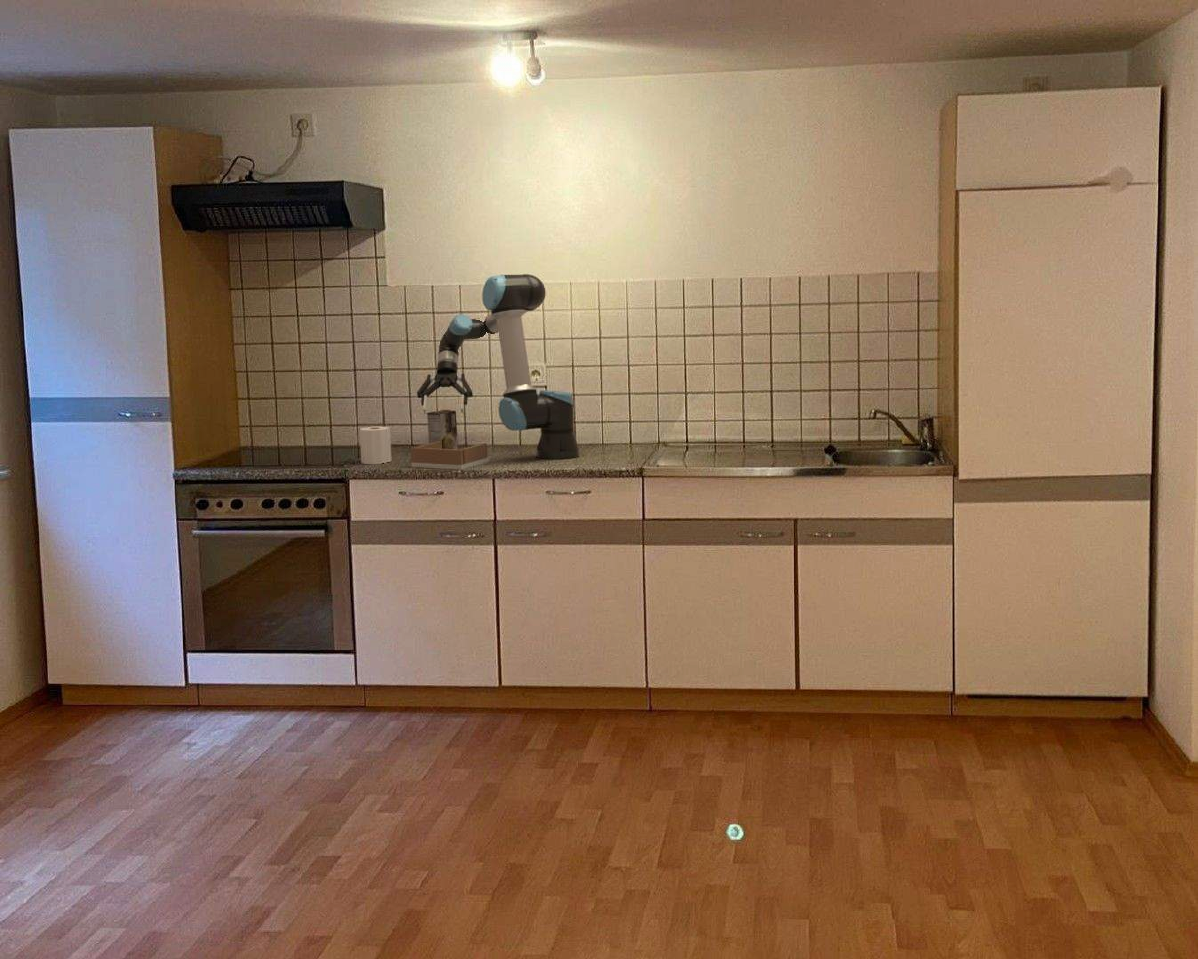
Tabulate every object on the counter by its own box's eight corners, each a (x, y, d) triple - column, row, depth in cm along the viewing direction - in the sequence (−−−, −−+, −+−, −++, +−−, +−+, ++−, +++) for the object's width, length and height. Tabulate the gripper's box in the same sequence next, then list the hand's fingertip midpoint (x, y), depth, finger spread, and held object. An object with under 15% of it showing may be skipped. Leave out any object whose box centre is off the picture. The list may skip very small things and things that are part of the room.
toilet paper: (397, 461, 514) (395, 427, 512) (372, 465, 507) (370, 430, 505) (380, 459, 521) (378, 425, 519) (355, 462, 514) (354, 428, 512)
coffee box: (445, 453, 530) (443, 409, 528) (458, 454, 527) (456, 410, 524) (428, 457, 523) (426, 412, 520) (442, 458, 519) (440, 413, 517)
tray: (488, 461, 508) (488, 443, 507) (461, 469, 493) (460, 450, 492) (440, 459, 517) (439, 440, 516) (411, 466, 501) (410, 448, 500)
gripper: (482, 371, 545) (478, 416, 533) (415, 373, 546) (410, 418, 534) (479, 358, 539) (476, 404, 527) (412, 360, 540) (407, 405, 528)
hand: (443, 411), depth 530 cm, fingers open, 13 cm apart
